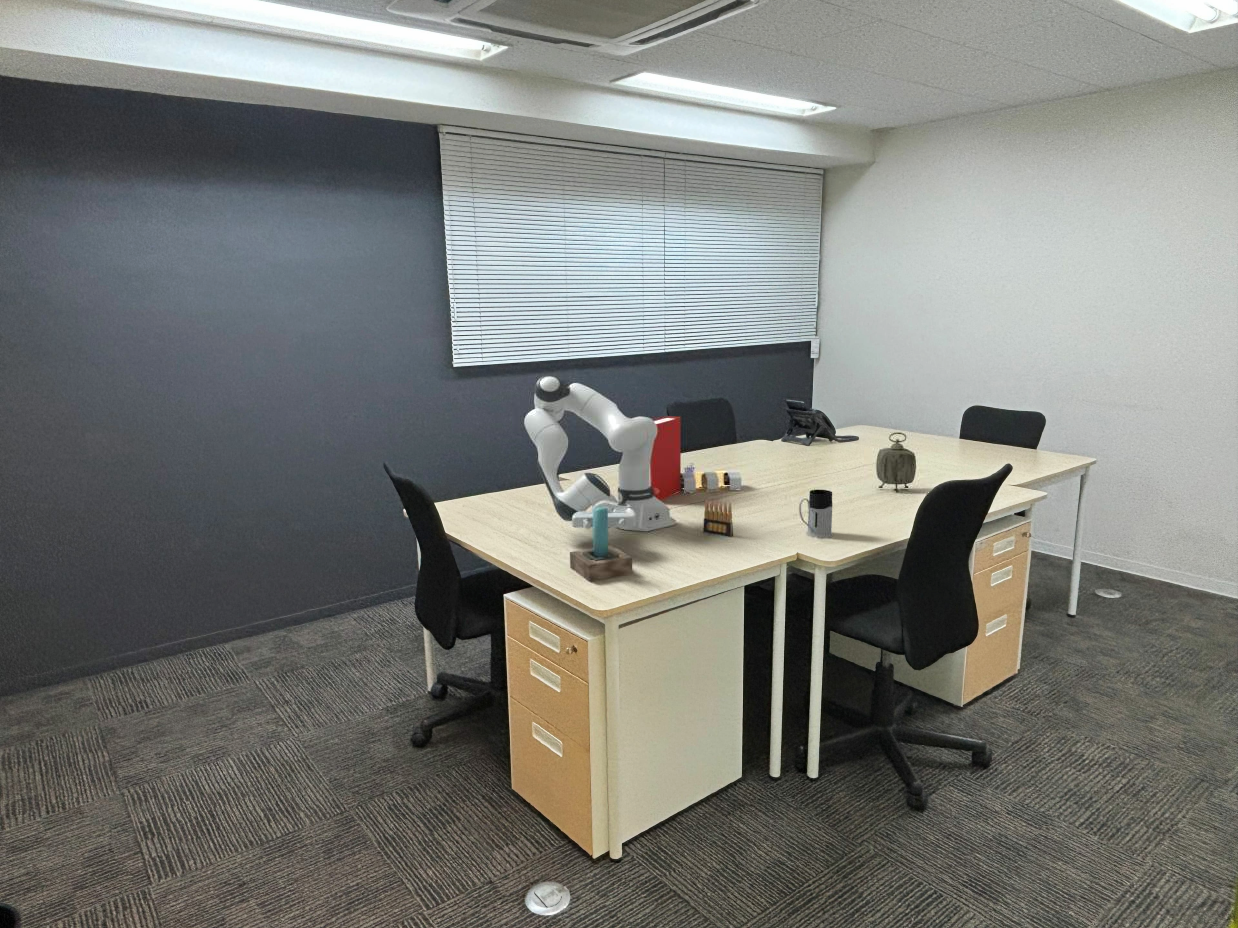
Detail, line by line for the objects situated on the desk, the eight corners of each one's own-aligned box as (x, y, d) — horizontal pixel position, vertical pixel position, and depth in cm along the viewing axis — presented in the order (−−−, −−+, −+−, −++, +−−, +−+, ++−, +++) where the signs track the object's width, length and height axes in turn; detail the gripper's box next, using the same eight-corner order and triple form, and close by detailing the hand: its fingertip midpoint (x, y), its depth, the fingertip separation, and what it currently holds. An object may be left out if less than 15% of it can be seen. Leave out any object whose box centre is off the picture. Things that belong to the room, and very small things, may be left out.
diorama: (684, 494, 326) (684, 464, 324) (678, 489, 336) (678, 459, 334) (741, 491, 330) (741, 461, 327) (734, 486, 340) (734, 457, 337)
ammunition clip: (733, 535, 264) (733, 501, 262) (730, 537, 263) (731, 503, 261) (705, 531, 270) (705, 498, 268) (703, 532, 269) (703, 499, 267)
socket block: (611, 560, 240) (611, 544, 239) (632, 573, 228) (632, 556, 227) (570, 567, 234) (569, 551, 233) (589, 581, 222) (589, 564, 221)
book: (651, 504, 309) (651, 425, 303) (634, 502, 313) (633, 424, 307) (682, 490, 332) (682, 416, 326) (665, 488, 336) (665, 415, 330)
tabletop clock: (909, 488, 328) (913, 430, 323) (915, 493, 319) (919, 434, 314) (874, 488, 330) (877, 430, 325) (879, 493, 321) (882, 434, 316)
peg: (604, 564, 234) (603, 506, 230) (610, 568, 230) (610, 509, 226) (591, 566, 232) (590, 508, 228) (597, 570, 228) (596, 511, 224)
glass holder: (838, 535, 263) (839, 492, 260) (808, 542, 255) (809, 498, 252) (818, 529, 270) (820, 487, 267) (789, 536, 263) (790, 493, 260)
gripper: (572, 505, 251) (569, 516, 237) (635, 504, 250) (635, 515, 237) (573, 524, 252) (570, 536, 238) (635, 523, 252) (636, 535, 238)
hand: (603, 526), depth 238 cm, fingers open, 8 cm apart
